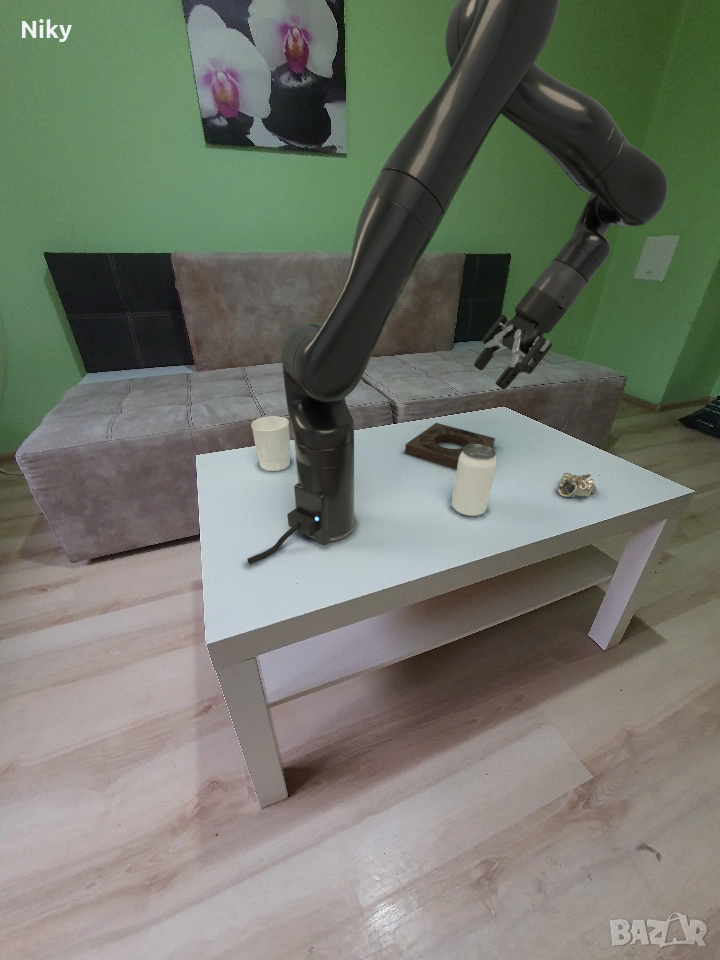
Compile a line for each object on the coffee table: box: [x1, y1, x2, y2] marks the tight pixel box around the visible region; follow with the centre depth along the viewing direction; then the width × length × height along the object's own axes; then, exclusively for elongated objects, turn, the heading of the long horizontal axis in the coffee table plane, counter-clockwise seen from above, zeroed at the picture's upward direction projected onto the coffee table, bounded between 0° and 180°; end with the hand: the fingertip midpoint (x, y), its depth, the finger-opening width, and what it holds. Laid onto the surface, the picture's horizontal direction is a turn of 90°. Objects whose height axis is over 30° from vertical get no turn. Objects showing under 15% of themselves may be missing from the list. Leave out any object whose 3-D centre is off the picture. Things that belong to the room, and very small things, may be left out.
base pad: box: [404, 422, 496, 471], centre depth 93 cm, size 16×16×2 cm
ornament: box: [557, 472, 598, 498], centre depth 77 cm, size 8×7×4 cm
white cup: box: [250, 415, 291, 472], centre depth 85 cm, size 8×8×10 cm
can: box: [451, 444, 497, 517], centre depth 70 cm, size 6×6×12 cm
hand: (487, 377), depth 74 cm, fingers open, 8 cm apart
